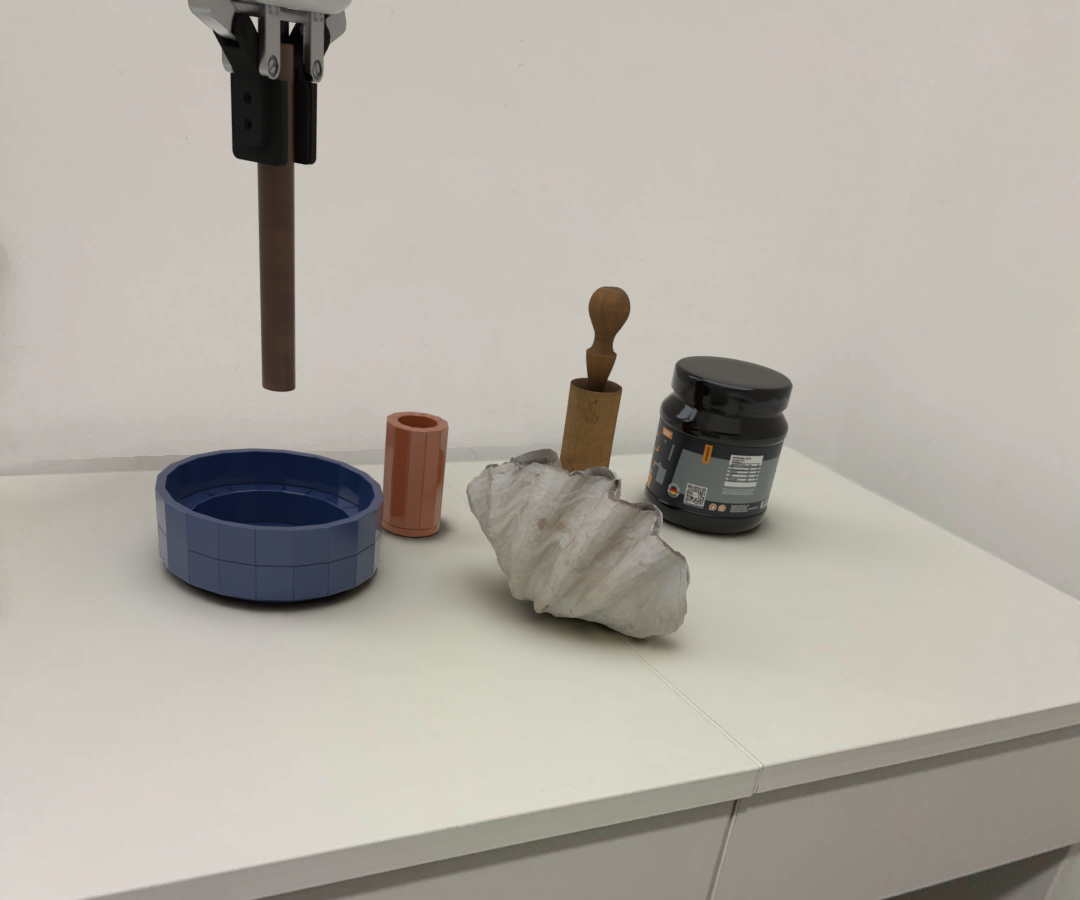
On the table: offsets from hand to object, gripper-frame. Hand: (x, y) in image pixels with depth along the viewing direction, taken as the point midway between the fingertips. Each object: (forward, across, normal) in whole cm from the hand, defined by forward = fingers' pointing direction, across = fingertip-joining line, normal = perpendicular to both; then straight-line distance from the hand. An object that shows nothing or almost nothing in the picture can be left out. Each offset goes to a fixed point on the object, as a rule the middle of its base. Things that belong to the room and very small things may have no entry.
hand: (274, 158), depth 58 cm
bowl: (+24, 0, 0) cm, 24 cm away
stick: (+13, 0, 0) cm, 13 cm away
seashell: (+25, -6, +19) cm, 32 cm away
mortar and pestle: (+25, -21, +14) cm, 35 cm away
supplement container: (+25, -31, +22) cm, 45 cm away
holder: (+25, -12, +4) cm, 28 cm away
